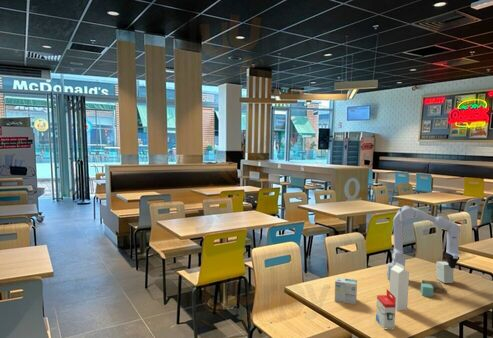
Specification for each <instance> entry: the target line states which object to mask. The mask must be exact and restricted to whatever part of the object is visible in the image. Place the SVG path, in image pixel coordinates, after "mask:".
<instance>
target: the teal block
mask: <svg viewBox="0 0 493 338" xmlns="http://www.w3.org/2000/svg"><path fill="white" fill-rule="evenodd" d="M420 293H421V296H422V297H429V298H434V292H433V287H432V285H431V284H424V283H422V282H421V283H420Z"/></svg>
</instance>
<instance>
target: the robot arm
mask: <svg viewBox="0 0 493 338" xmlns="http://www.w3.org/2000/svg"><path fill="white" fill-rule="evenodd" d="M413 218H414V219H417V218H422V219H424V220H426V221H430V222H432V223H433V226H435V227H438V228H439V229H441V230H444V231H447V232H446V233H447V234H446V251H445V253H444V254H445V256H446V259H447V263H448V265H449V266H450V268H453V269H456V267H457V263H458V261H459V260H460V257H459V254H461V253H462V252H461V251H459V238H460V236H459V235H460V233H461V231H462V230H461V227H460V226H459V225H458V224H457V223H456V222H454V221H452V220H448V219H446V218H444V216H441V215H440V216H439V215H438V216H433V215H431V214H429V213H427V212H426V211H422V210H421V209H419V208H415V207H411V206H410V205H403V206H401V207H400V208H399V209H398V211H397V212H396V214H395V215H394V217H393V219H392V220H393V224H392V225H393V250H392V254H391V258H392V261H391V262H388V263H387V265H386V266H387V269H386V276H387V279H388V280H389V281H390V270H391V268H392V267H393V266H395V265H396V262H397V263H399V264H401V265H403V266H404V269H405V268H406V267H405V266H406V258H405V257H404V248H403V244H404V243H403V241H404V240H403V223H405V222H406V221H408V220H412V219H413ZM405 270H406V269H405Z"/></svg>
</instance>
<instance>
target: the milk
mask: <svg viewBox="0 0 493 338" xmlns="http://www.w3.org/2000/svg"><path fill="white" fill-rule="evenodd" d="M409 277H410V272H409V270H407V269H404V266H403V265H401V264H399V263H397V262H396V265H395V266H393V267H392V268H391V270H390V280H389V291H390V292H391V293H392V294H393V295H394V296H395V298H396V302H395V304H396V306H395V311H405V310H408V302H409V300H408V299H409V298H408V297H409V283H410V282H409V281H410V280H409V279H410V278H409ZM390 296H391V295H390ZM391 297H392V296H391Z"/></svg>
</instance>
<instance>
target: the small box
mask: <svg viewBox="0 0 493 338" xmlns="http://www.w3.org/2000/svg"><path fill="white" fill-rule="evenodd" d="M435 263H436V267H435V268H436V273H435V274H436V279H437V280H438V281H439V282H441V283H443V284H454V268H450V266H449V265H448V261H440V260H439V261H436V262H435Z"/></svg>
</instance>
